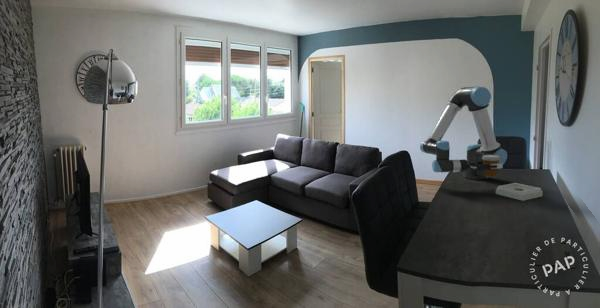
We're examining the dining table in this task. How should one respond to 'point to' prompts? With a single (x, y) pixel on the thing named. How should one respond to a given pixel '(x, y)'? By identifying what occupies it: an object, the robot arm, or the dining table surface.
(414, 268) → the dining table surface
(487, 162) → the disposable coffee cup
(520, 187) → the square rimmed tray
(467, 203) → the dining table surface
